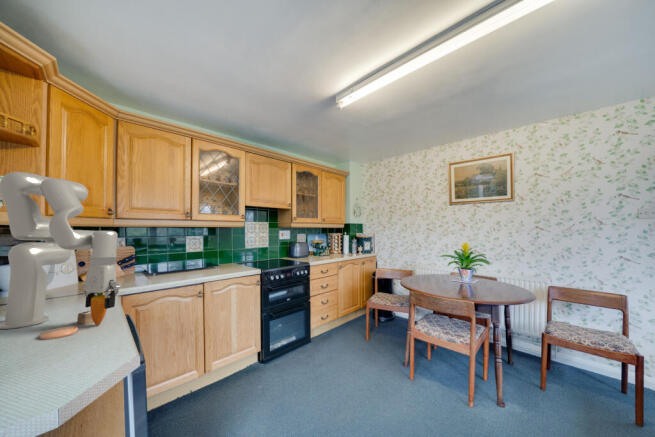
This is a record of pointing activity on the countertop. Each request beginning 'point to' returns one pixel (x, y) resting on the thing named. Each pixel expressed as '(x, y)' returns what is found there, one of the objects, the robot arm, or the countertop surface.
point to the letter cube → (84, 318)
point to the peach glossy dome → (58, 332)
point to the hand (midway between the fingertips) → (99, 307)
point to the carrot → (98, 308)
